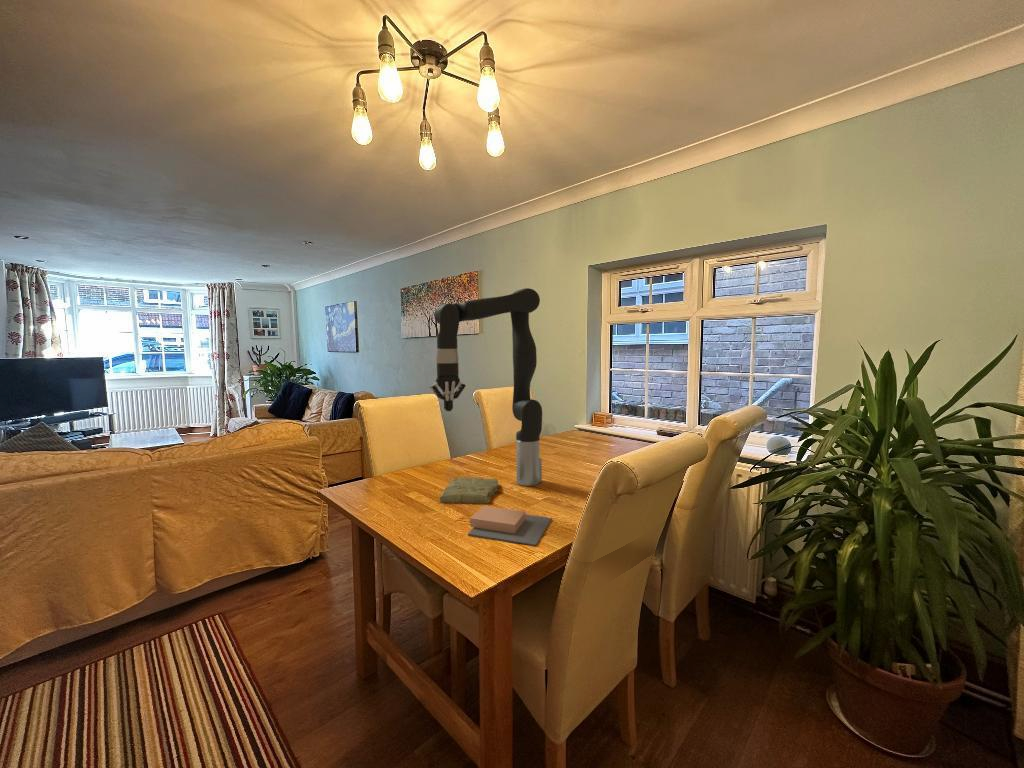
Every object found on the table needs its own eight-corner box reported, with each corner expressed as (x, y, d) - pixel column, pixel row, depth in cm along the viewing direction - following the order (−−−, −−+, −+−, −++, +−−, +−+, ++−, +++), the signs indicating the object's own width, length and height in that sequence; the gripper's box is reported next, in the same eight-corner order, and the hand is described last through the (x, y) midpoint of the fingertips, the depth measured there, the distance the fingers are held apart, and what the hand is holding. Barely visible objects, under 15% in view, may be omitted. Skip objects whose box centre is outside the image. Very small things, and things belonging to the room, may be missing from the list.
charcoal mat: (467, 535, 114) (467, 533, 114) (491, 511, 131) (491, 509, 131) (535, 546, 108) (535, 544, 108) (551, 519, 124) (551, 517, 124)
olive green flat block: (439, 503, 139) (439, 493, 139) (453, 484, 159) (453, 475, 159) (492, 505, 137) (492, 495, 137) (500, 485, 157) (500, 477, 157)
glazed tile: (469, 518, 118) (515, 524, 113) (483, 505, 128) (525, 511, 123) (470, 527, 118) (515, 534, 114) (483, 514, 128) (525, 519, 123)
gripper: (433, 362, 134) (434, 414, 136) (469, 361, 141) (470, 410, 143) (425, 362, 141) (427, 411, 142) (460, 361, 148) (461, 408, 149)
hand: (448, 410), depth 142 cm, fingers closed
